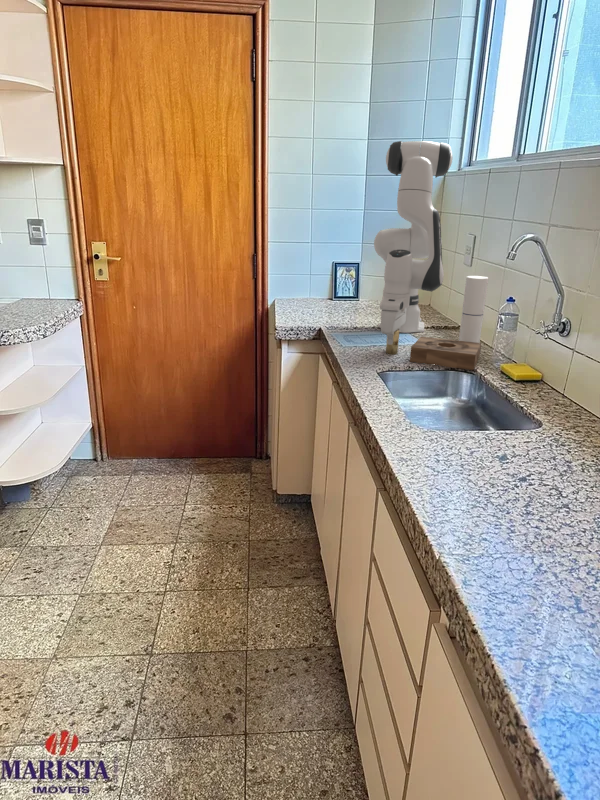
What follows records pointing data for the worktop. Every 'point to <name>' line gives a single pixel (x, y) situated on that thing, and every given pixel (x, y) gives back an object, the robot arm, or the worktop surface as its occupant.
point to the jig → (445, 352)
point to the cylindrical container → (473, 308)
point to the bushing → (394, 347)
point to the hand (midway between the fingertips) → (392, 341)
